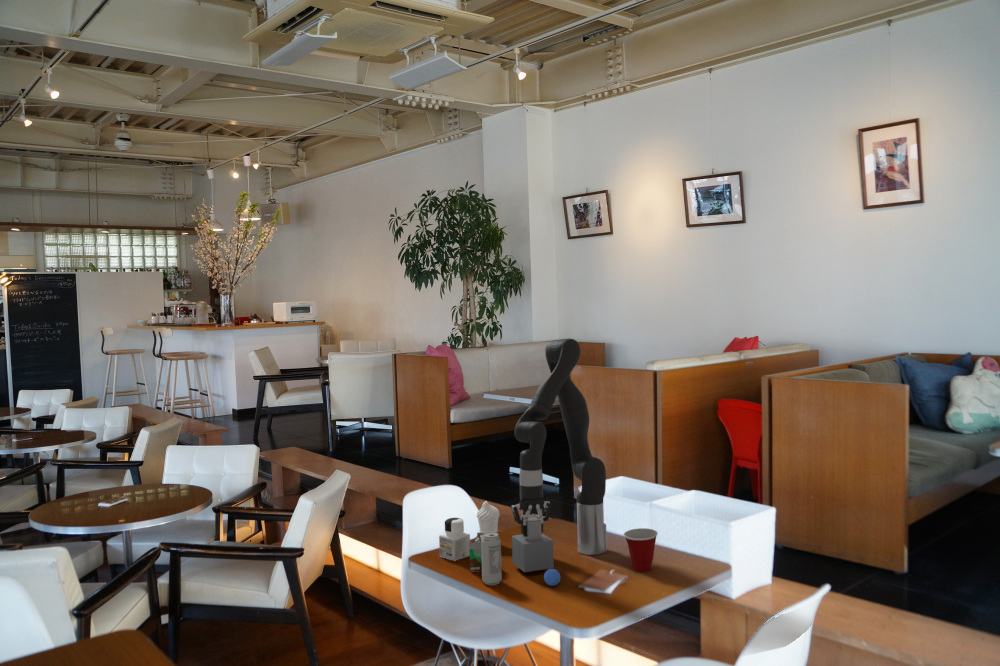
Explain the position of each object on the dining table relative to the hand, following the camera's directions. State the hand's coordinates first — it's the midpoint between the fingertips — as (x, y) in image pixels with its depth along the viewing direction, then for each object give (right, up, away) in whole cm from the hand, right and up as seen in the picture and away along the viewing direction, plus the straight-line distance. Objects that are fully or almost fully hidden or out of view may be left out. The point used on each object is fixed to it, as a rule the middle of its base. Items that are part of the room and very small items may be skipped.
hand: (532, 534), depth 237 cm
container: (-26, -12, +16) cm, 33 cm away
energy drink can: (-13, -12, -10) cm, 20 cm away
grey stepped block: (0, -10, 0) cm, 10 cm away
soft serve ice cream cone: (-14, -12, +28) cm, 34 cm away
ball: (+6, -9, -14) cm, 17 cm away
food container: (-16, -12, +4) cm, 20 cm away
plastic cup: (+35, -11, -1) cm, 37 cm away
